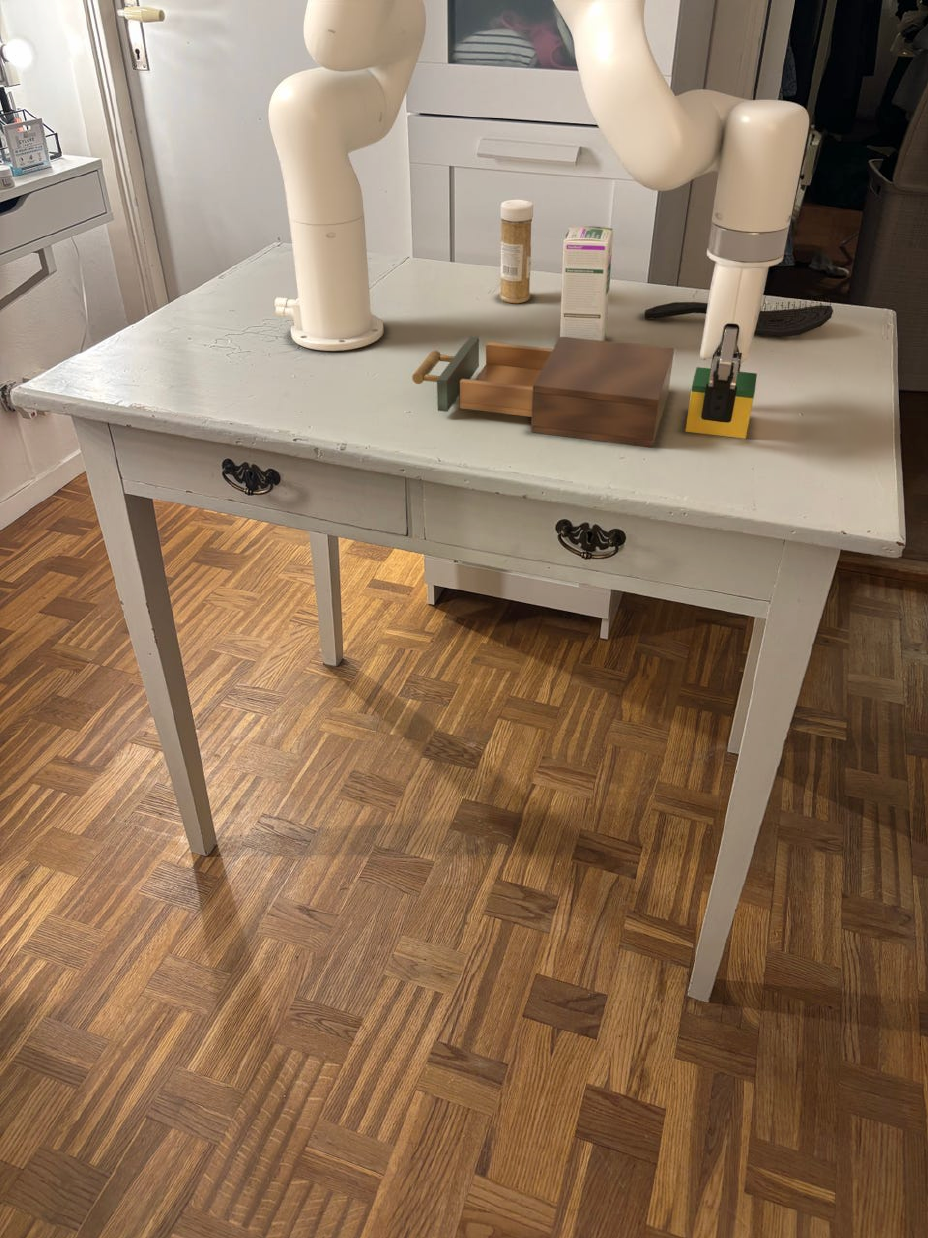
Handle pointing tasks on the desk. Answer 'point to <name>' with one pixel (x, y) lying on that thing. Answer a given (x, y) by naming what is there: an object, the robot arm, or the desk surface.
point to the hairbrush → (759, 317)
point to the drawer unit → (602, 391)
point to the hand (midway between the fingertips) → (719, 402)
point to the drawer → (487, 377)
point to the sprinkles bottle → (515, 250)
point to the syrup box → (586, 282)
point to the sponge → (740, 410)
